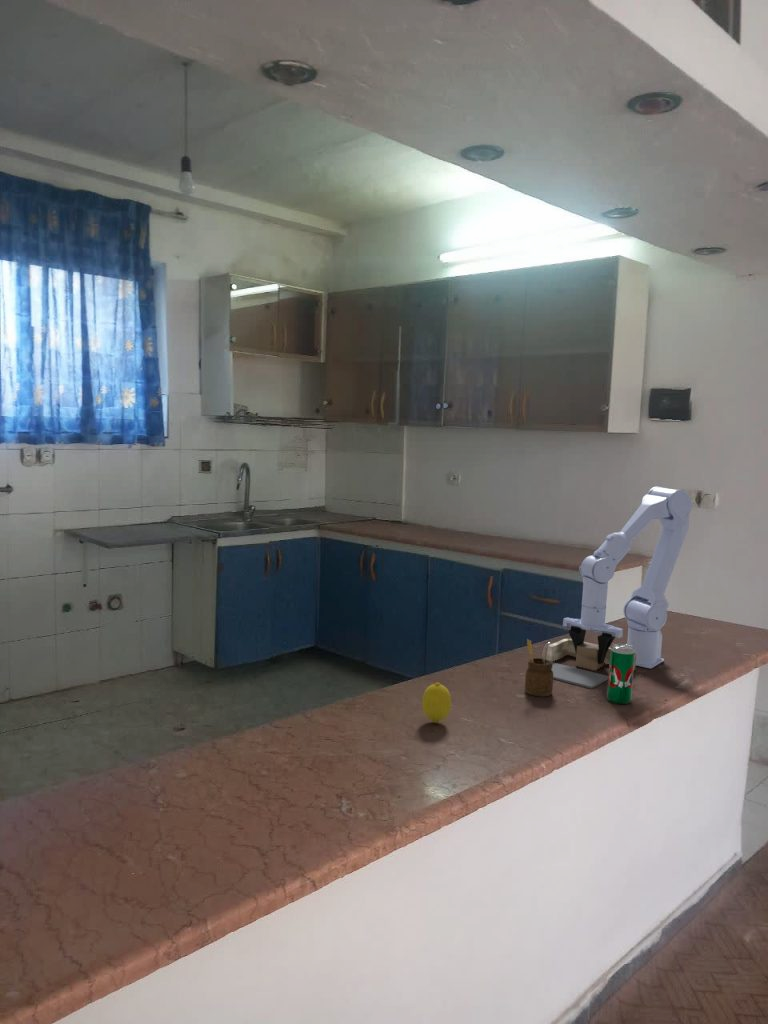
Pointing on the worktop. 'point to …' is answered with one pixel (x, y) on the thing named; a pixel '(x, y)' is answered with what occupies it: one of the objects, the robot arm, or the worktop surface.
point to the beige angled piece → (570, 651)
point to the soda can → (620, 673)
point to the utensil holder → (539, 675)
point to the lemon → (436, 702)
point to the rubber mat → (577, 676)
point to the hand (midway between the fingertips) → (589, 660)
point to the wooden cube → (588, 656)
